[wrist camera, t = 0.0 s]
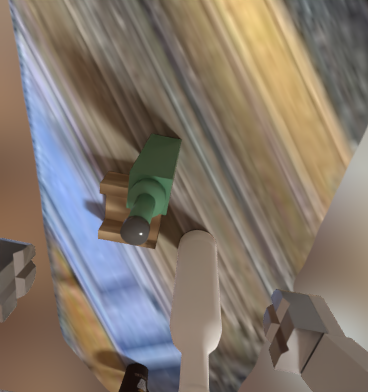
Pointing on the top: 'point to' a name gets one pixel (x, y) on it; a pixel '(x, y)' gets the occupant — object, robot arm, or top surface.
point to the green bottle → (150, 186)
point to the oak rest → (121, 210)
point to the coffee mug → (135, 379)
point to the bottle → (196, 308)
